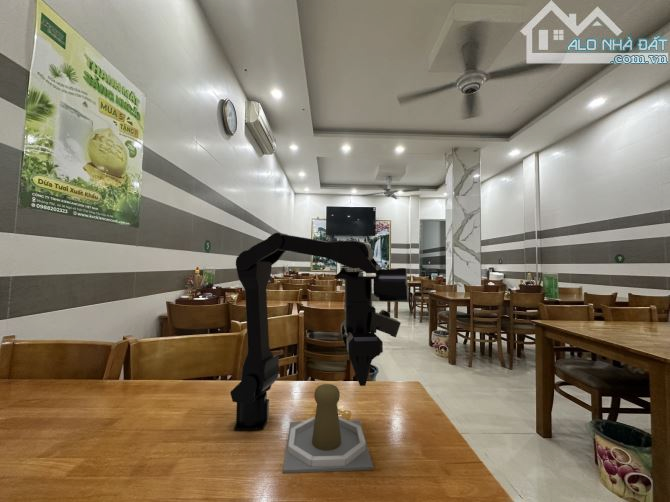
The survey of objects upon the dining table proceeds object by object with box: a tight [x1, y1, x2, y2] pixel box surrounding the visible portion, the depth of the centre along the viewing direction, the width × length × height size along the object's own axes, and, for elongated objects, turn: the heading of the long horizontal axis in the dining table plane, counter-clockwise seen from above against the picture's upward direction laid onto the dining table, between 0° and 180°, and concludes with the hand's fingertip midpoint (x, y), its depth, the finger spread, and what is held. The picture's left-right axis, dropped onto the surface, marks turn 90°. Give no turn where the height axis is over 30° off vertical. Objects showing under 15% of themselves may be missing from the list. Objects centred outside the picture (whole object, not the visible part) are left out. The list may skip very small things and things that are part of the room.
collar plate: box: [282, 416, 374, 474], centre depth 60 cm, size 16×16×2 cm
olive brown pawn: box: [312, 383, 341, 451], centre depth 60 cm, size 6×6×11 cm
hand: (359, 376), depth 61 cm, fingers open, 9 cm apart
